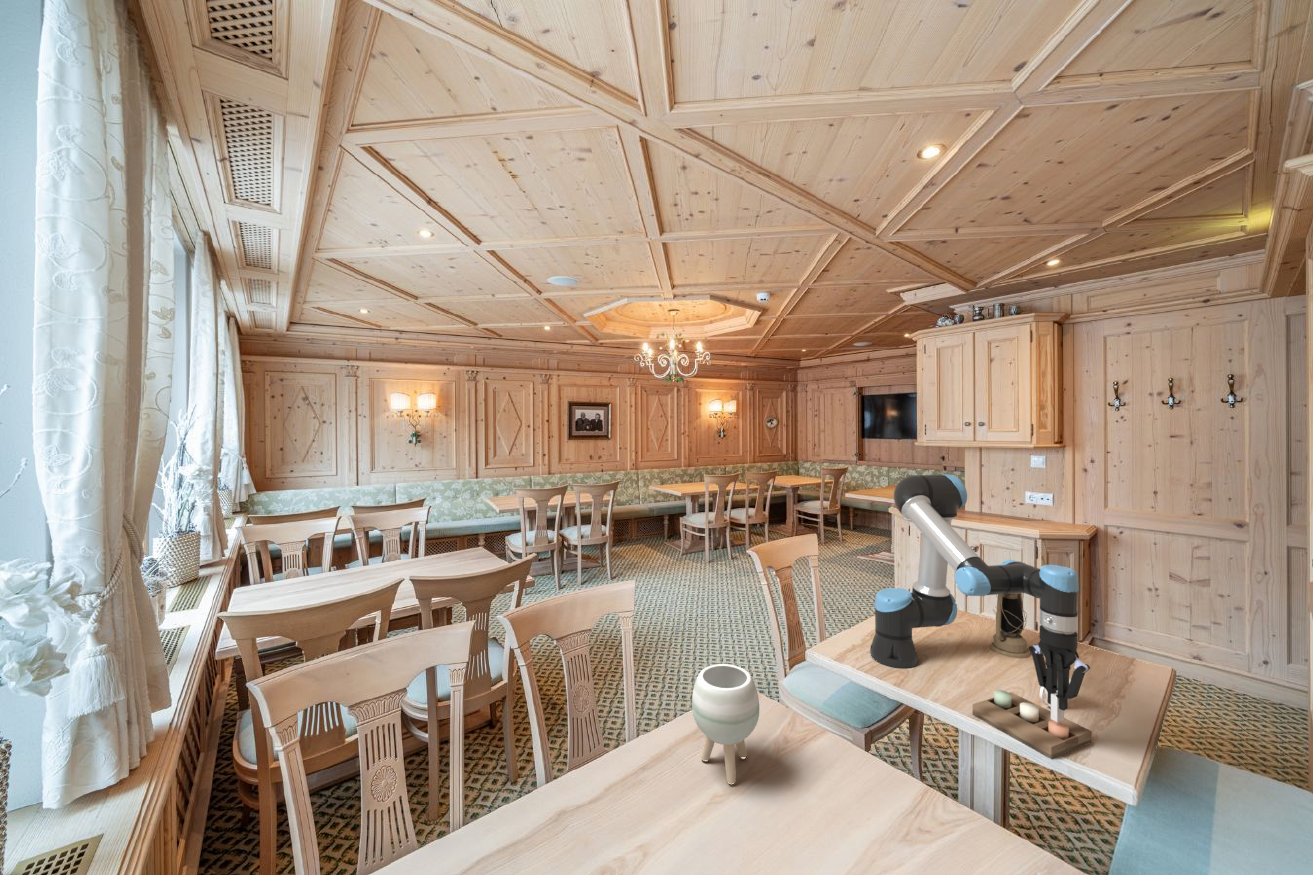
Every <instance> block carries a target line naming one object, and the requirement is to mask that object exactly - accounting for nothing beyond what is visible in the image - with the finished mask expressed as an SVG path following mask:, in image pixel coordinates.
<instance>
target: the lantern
mask: <svg viewBox="0 0 1313 875" xmlns="http://www.w3.org/2000/svg"><path fill="white" fill-rule="evenodd" d="M1024 594H1025V593H1013V594H996V595H995V597H996V598H997V600H996V611H995V610H993V612H994V613H995V633H994V635H993V638H992V642H991V643H990V644H989V647H990V650H992V651H993V652H995V653H997V654H998V655H1002V656H1005V657H1009V658H1014V659H1015V658H1016V659H1027V658H1030V657H1031V656H1032V654H1031V652H1030V650H1029V648H1028V641H1027V640H1026V639H1025V638H1024V636H1023V635H1021V634H1022V633H1023V631H1024V630H1025V628H1026V625H1027V622H1026V621H1027V618H1028V613H1027V612H1026V611H1025V610H1024V599H1023V597H1025V596H1024ZM1025 614H1026V615H1025Z"/></svg>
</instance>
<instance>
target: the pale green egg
mask: <svg viewBox="0 0 1313 875" xmlns="http://www.w3.org/2000/svg"><path fill="white" fill-rule="evenodd" d="M993 698H994V703H995V704H996V705H997V706H999V707H1002V708H1011V694H1010V692H1007V691H1005V690H1002V689H995V690H994V691H993Z"/></svg>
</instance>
